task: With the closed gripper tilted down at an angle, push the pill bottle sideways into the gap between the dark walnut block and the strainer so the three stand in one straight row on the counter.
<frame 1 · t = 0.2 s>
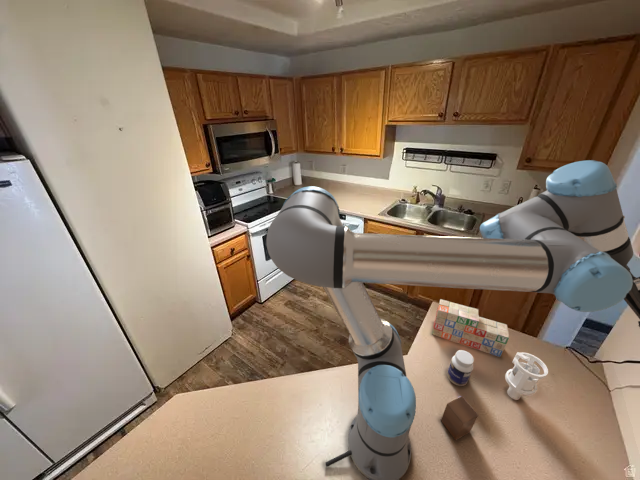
hand: (622, 315, 53), 36 cm above the counter, tool tilted 35°, fingers open, 13 cm apart
strainer: (513, 394, 75), on the counter
pill bottle: (456, 378, 80), on the counter
walnut block: (455, 426, 68), on the counter
stack of blocks: (464, 339, 92), on the counter
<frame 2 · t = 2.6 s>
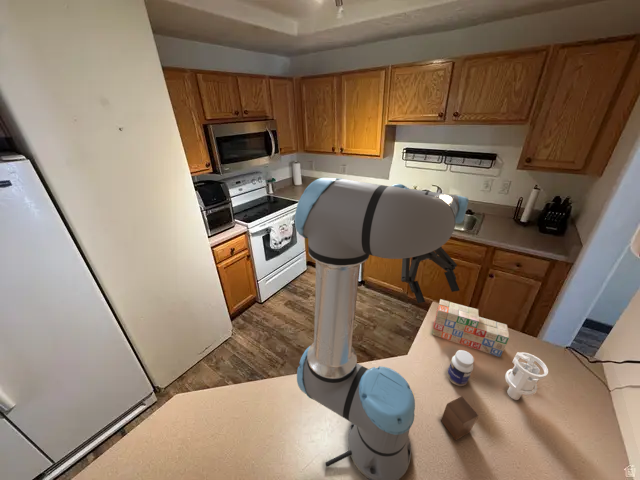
hand: (439, 296, 80), 22 cm above the counter, tool tilted 45°, fingers open, 13 cm apart
nothing on the counter moved.
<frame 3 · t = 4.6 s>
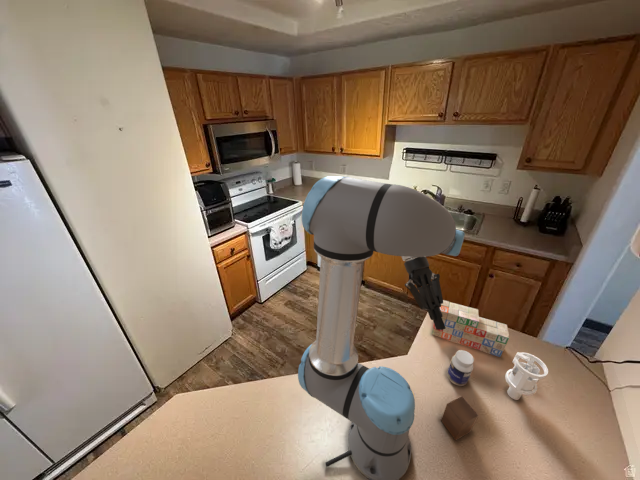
hand: (441, 329, 82), 11 cm above the counter, tool tilted 45°, fingers closed
nothing on the counter moved.
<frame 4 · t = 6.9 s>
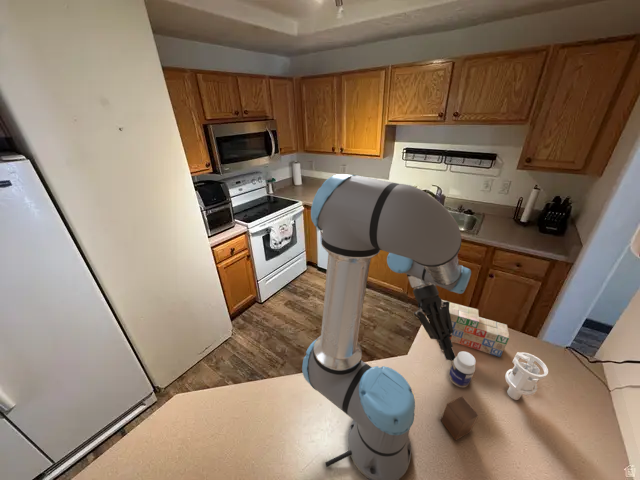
hand: (451, 359, 81), 4 cm above the counter, tool tilted 45°, fingers closed
pill bottle: (458, 379, 79), on the counter, touching gripper
everything else where it was.
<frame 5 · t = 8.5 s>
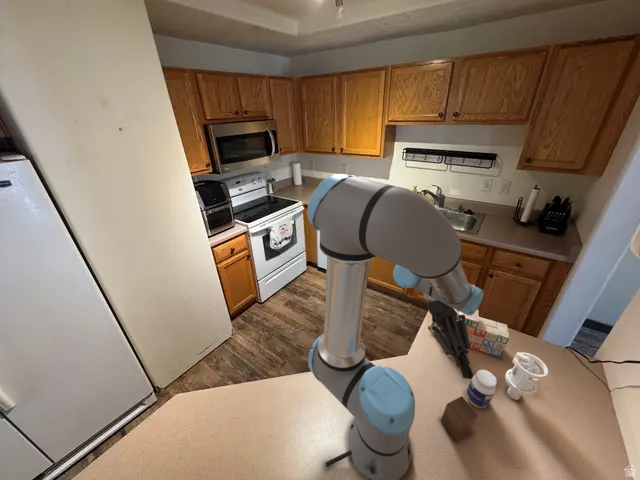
hand: (468, 377, 75), 4 cm above the counter, tool tilted 45°, fingers closed
pill bottle: (476, 399, 74), on the counter, touching gripper
everything else where it was.
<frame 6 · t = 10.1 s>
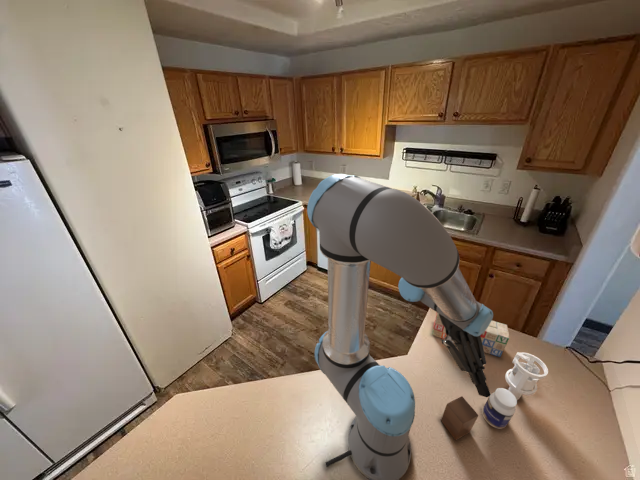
hand: (484, 395, 71), 4 cm above the counter, tool tilted 45°, fingers closed
pill bottle: (493, 418, 70), on the counter, touching gripper
everything else where it was.
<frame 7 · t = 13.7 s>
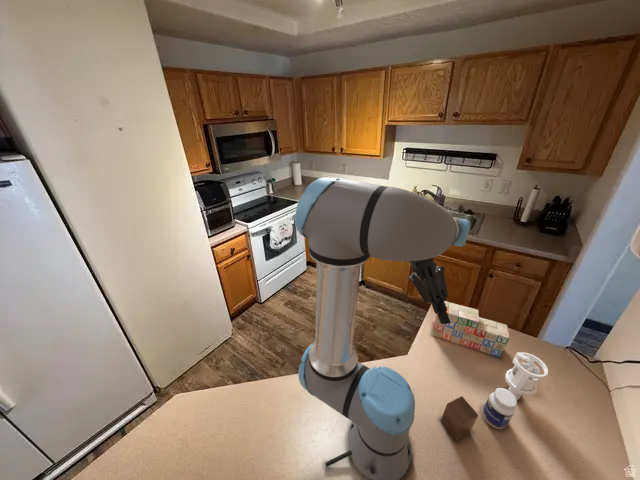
hand: (445, 323, 79), 15 cm above the counter, tool tilted 45°, fingers closed
pill bottle: (493, 418, 70), on the counter
everything else where it was.
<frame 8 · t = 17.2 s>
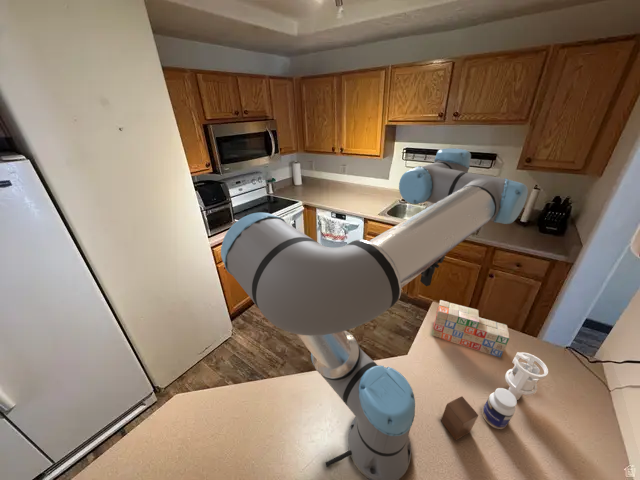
hand: (425, 283, 79), 26 cm above the counter, tool pointing down, fingers closed
nothing on the counter moved.
at the end: pill bottle 2.2 cm from the target spot, on the counter; pill bottle tilted 0°; strainer moved 0.2 cm from its start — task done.
